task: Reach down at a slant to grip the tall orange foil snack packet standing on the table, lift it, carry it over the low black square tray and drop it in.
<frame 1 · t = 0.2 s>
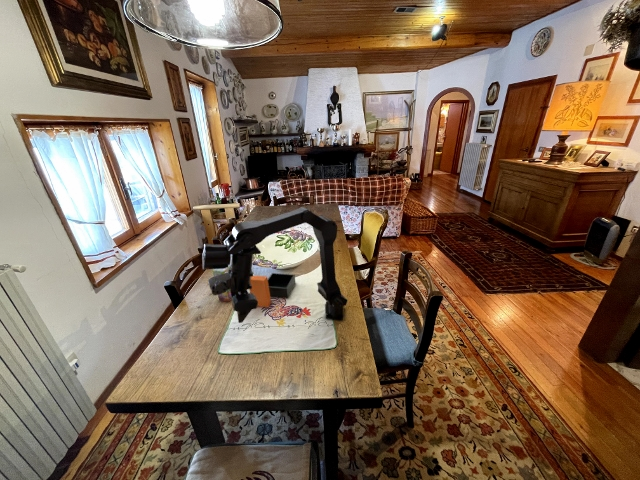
hand: (237, 313, 77), 15 cm above the table, tool pointing down, fingers open, 9 cm apart
black square tray: (280, 289, 114), on the table
snack box: (237, 287, 117), on the table
packet: (262, 304, 105), on the table
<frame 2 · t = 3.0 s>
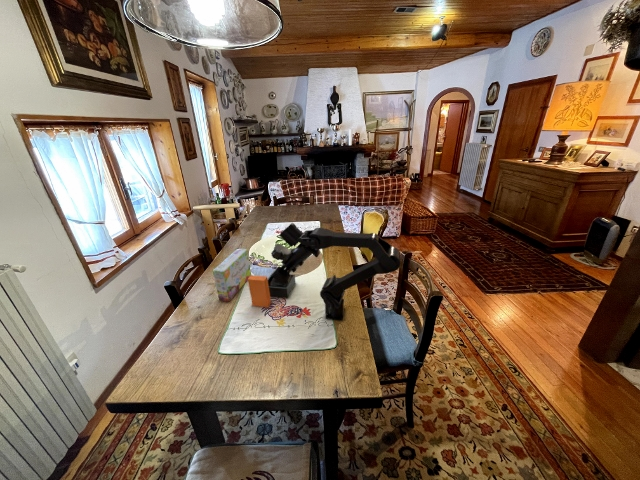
hand: (275, 278, 98), 14 cm above the table, tool tilted 45°, fingers open, 9 cm apart
nothing on the table moved.
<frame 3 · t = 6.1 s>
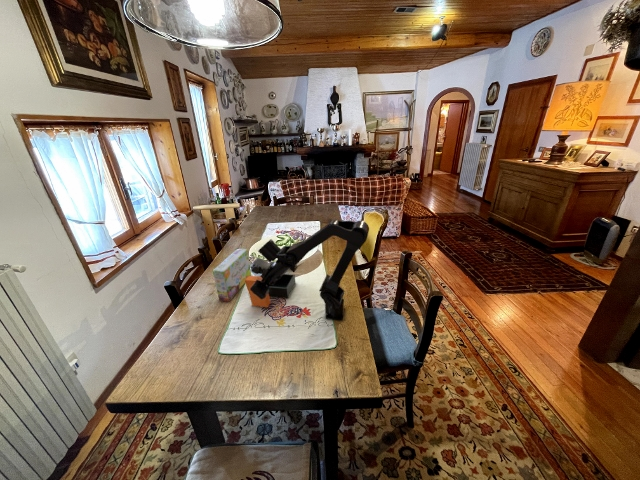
hand: (255, 290, 102), 7 cm above the table, tool tilted 45°, fingers closed on packet, 4 cm apart
packet: (261, 304, 105), on the table, touching gripper
everything else where it was.
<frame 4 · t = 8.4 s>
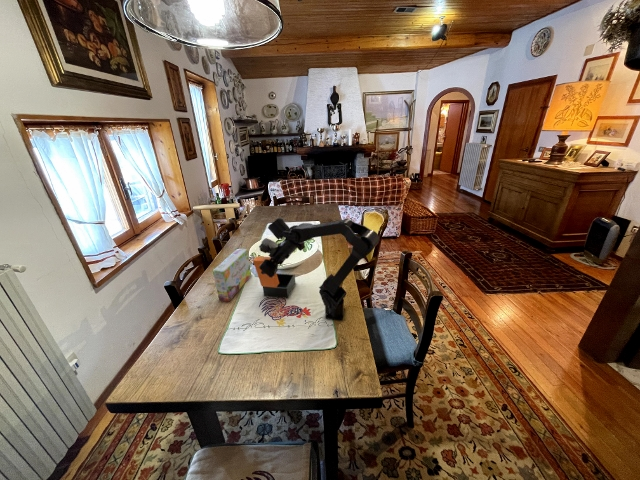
hand: (263, 270, 103), 14 cm above the table, tool tilted 45°, fingers closed on packet, 3 cm apart
packet: (270, 284, 106), point 7 cm above the table, tilted 7°, touching gripper
everything else where it was.
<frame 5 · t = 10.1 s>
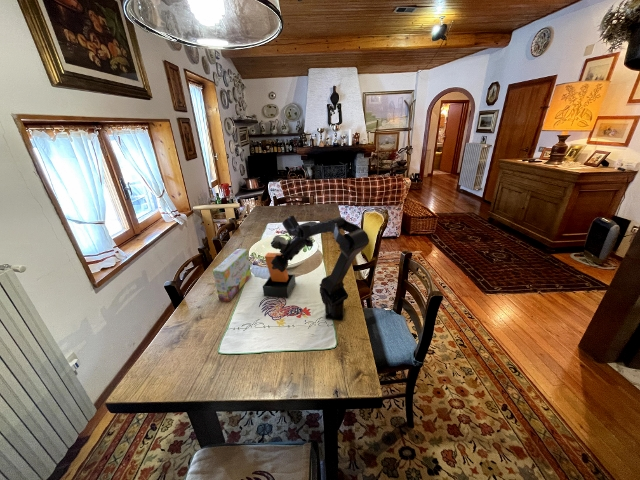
hand: (274, 266, 109), 12 cm above the table, tool tilted 45°, fingers closed on packet, 3 cm apart
packet: (280, 279, 112), point 5 cm above the table, tilted 7°, touching gripper
everything else where it was.
when the fingers open (10 cm above the table, at t = 11.1 s): packet drops 2 cm, resting on black square tray.
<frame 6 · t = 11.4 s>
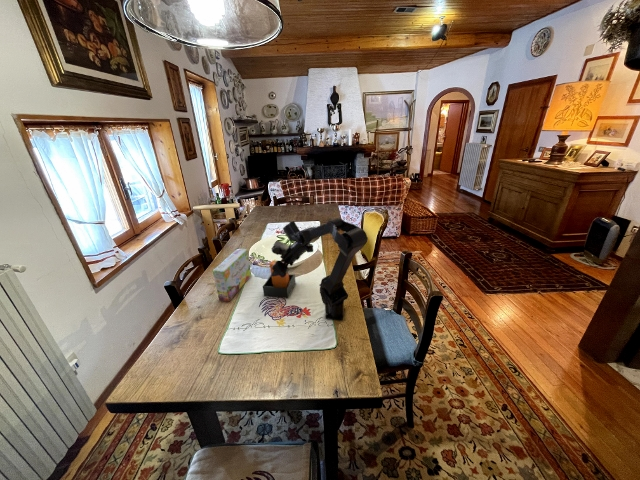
hand: (274, 271, 110), 10 cm above the table, tool tilted 45°, fingers open, 7 cm apart
packet: (281, 288, 114), point 1 cm above the table, touching black square tray
everything else where it was.
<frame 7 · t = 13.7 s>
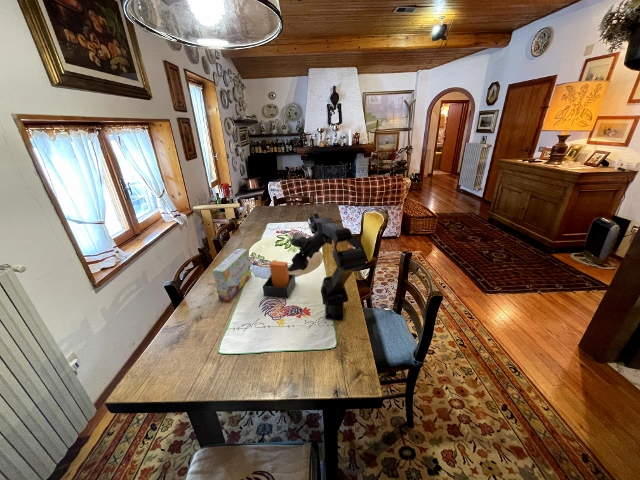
hand: (292, 264, 107), 14 cm above the table, tool tilted 45°, fingers open, 9 cm apart
nothing on the table moved.
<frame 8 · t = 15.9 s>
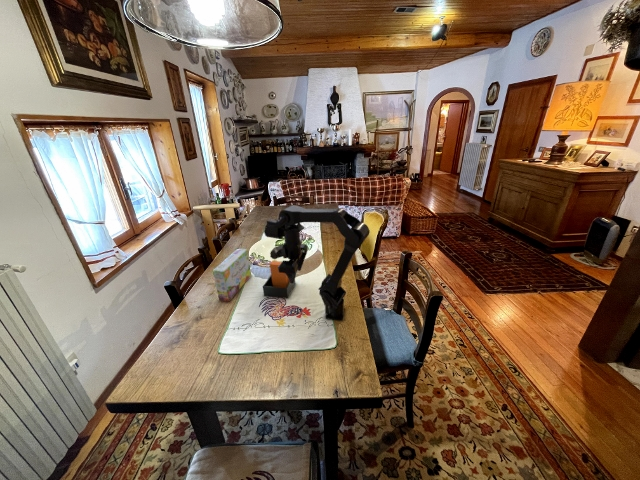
hand: (295, 276, 99), 13 cm above the table, tool pointing down, fingers open, 9 cm apart
nothing on the table moved.
at the end: packet inside the target area in the black square tray (0.8 cm from its centre), point 0.5 cm above the black square tray's base; the gripper is holding nothing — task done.
